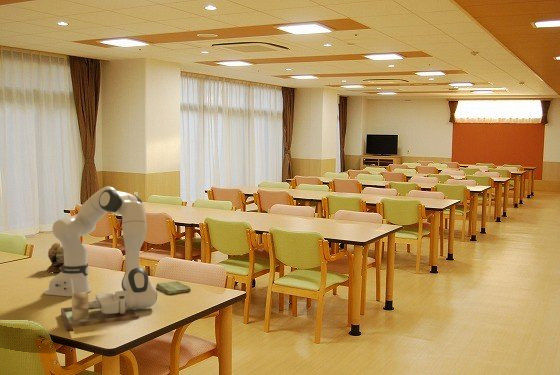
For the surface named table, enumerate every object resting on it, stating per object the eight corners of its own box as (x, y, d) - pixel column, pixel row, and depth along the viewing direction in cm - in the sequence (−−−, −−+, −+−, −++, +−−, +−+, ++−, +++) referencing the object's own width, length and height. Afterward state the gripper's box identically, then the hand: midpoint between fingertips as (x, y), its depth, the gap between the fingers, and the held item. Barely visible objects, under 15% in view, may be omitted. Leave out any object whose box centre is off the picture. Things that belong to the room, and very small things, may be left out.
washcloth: (169, 296, 285) (169, 290, 285) (154, 288, 300) (154, 282, 299) (192, 292, 293) (192, 286, 293) (177, 285, 307) (177, 279, 307)
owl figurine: (75, 272, 334) (74, 243, 332) (55, 275, 325) (54, 245, 324) (62, 266, 346) (61, 238, 345) (42, 269, 338) (41, 241, 336)
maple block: (86, 314, 250) (86, 292, 249) (88, 318, 244) (88, 295, 243) (72, 316, 247) (71, 293, 246) (73, 320, 242) (73, 297, 241)
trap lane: (127, 306, 267) (127, 300, 266) (138, 321, 245) (138, 314, 245) (61, 314, 254) (61, 308, 254) (67, 331, 232) (66, 324, 232)
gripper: (115, 288, 262) (84, 291, 256) (124, 300, 244) (90, 304, 238) (116, 301, 262) (84, 305, 256) (124, 314, 244) (91, 318, 238)
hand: (87, 304), depth 247 cm, fingers closed
